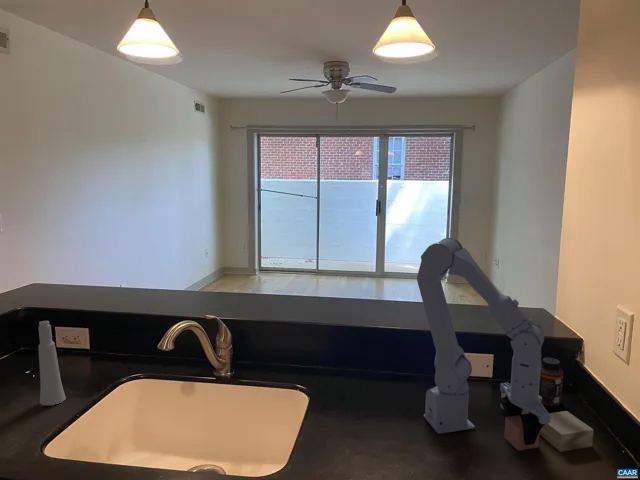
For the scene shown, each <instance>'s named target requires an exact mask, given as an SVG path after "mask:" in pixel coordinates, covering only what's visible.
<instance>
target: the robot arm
mask: <svg viewBox="0 0 640 480" xmlns="http://www.w3.org/2000/svg"><path fill="white" fill-rule="evenodd" d="M420 260H421V261H420V265H419V268H418V271H417V276H416V281H417V285H418V288H419V289H418V290H419V292H420V293H419V294H420V297H421V299H422V300H421V301H422V304H423V308H424V311H425V315H426V320H427V322H428V326H429V330H430V333H431V337H432V341H433V345H434V347H435V357H434V363H433V365H434V369H435V373H434V383H435V384H436V386H434V387H432V388H429V389H427V390H426V393H425V409H424V414H423V417H424V419H425V420H426V421H427V422H428V424H429V425H430V426H431V427H432V428H433V430H434V431H435V432H436V433H437V434H445V433H453V432H461V431H465V430H466V431H467V430H474V429H476V426H475V425H474V424H473V423H472V422H471V421H470V420H469V419H468V417H469V416H468V412H469V397H470V396H469V394H470V391H469V390H470V386H469V383H468V380H467V379H468V378H469V377H470V376H471V375H472V371H473V366H472V363H471V361H470V360H469V359H468V357H467V356H466V354H465V352H464V349H463V347H461V346H460V345H459V343H458V339H457V335H456V332H455V328H454V325H453V321H452V317H451V314H450V310H449V306H448V302H447V298H446V294H445V291H444V287H443V283H442V280H443V279H444V276H445V275H446V274H448V275H452V276H459V277H463V279H464V280H465V281H466V282H467V283H468V284H469V286H471V287H472V288H473V289H474V291H475V292H476V293H477V294H479V296H480V297H481V298H482V299H483V300H484V301H485V303H487V312H488V314H489V316H491V317H492V319H493V320H494V321H495V322H496V324H497V325H498V326H499V328H500V329H501V330H502V331H503V332H504V333H505V335H506V336H507V337H509V338H510V339H511V340H510V347H511V348H512V350H513V356H512V357H511V358H512V360H511V375H510V383H509V382H502V383H500V387H499V391H500V392H502V393H506V396H505V397H503V398H501V397H500V399H499V402H500V405H501V404H502V406H503V408H504V410H503V411H504V414H505V417H510V416H517V415H520V418H521V421H522V424H523V430H524V443H525V444H526V445H532V444H535V441H536V439H537V436H538V434H539V432H540V430H541V428H542V427H543V426H544V425H545V424H547V423H550V418H551V414H549V412H548V410H547V409H546V408H545V405H543V404H542V403H541V402H540V401H542V397H541V396H539V385H540V372H541V365H542V346H543V343H544V341H545V333H544V331H543V329H542V327H541V325H540V324H539V323H536V322H534V320H533V319H532V318H529V317H528V316H527V315H526V314H525V313H524V312H523V311H522V309H521V308H520V307H519V305H520V303H519V301H518V300H517V299H516V298H514V299H512V298H511V297H510V296H509V295H504V294H501V293H500V292H499V291H498V289H497V287H496V286H495V285H494V284H493V283H492V282H491V280H490V279H489V277H487V275H486V273H485V272H484V271H483V270H482V268H481V267H480V266H479V264H478V263H477V262H476V261H475V259H474V258H473V257H472V255H471V253H470V251H469V250H468V249H467V248H465V247H463V245H462V244H461V242H460V241H459V240H457V238H456V239H455V238H454V237H445V238H443V239H441V240H440V241H438V242H436V243H432V244H430V245H429V246H428V247H427V248H425V250H424V252H423V253H422V254H421V255H420ZM523 409H524V410H527V411H529V414H522V411H523ZM539 435H540V434H539Z"/></svg>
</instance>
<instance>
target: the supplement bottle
mask: <svg viewBox="0 0 640 480" xmlns="http://www.w3.org/2000/svg"><path fill="white" fill-rule="evenodd" d="M563 381H564V371H563V369H562V368H561V362H560V360H558V359H556V358H553V357H544V358H542V361H541V372H540V385H539V396H541V397H542V401H540V402H541V403H542V405H543V406H547V407H558V406H559V405H561V404H562V396H563V385H564V384H563V383H564V382H563Z"/></svg>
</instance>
